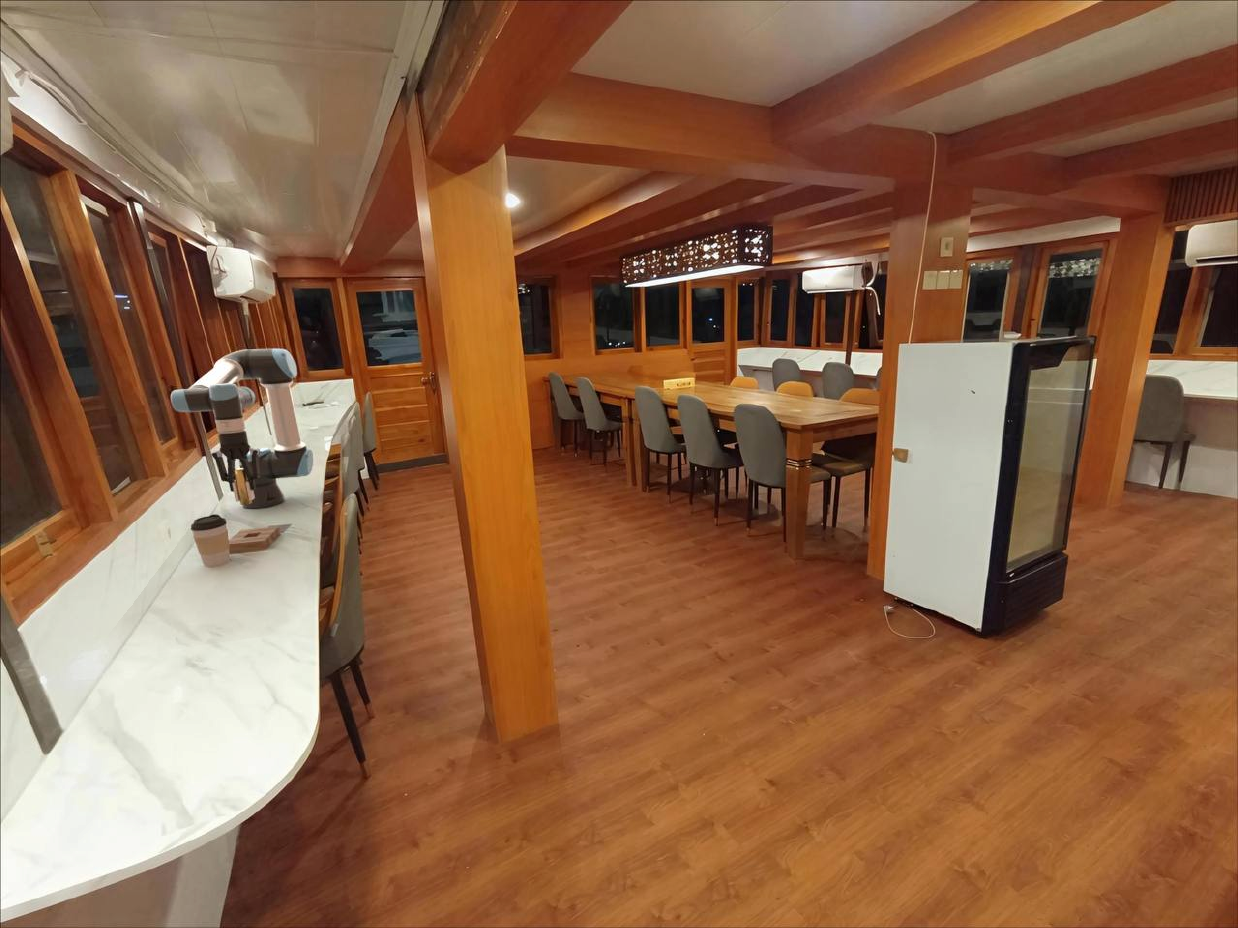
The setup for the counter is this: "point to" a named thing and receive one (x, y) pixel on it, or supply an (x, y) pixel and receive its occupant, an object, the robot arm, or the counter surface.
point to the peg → (242, 486)
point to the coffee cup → (212, 540)
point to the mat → (282, 527)
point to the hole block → (253, 539)
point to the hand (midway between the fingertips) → (245, 499)
